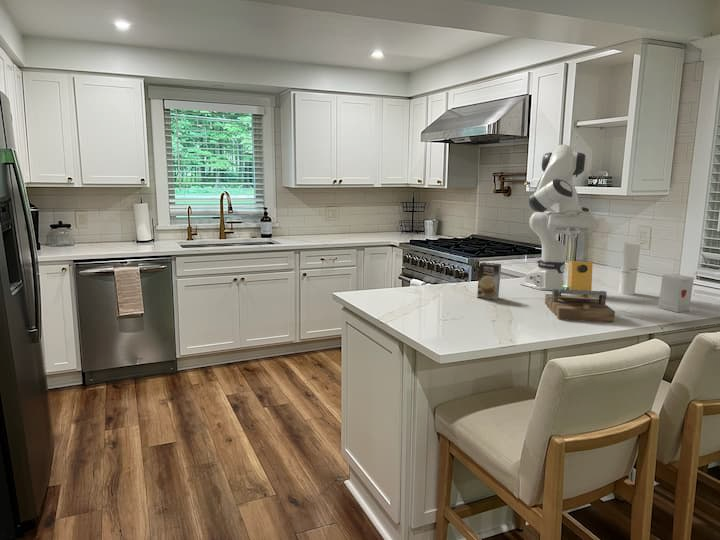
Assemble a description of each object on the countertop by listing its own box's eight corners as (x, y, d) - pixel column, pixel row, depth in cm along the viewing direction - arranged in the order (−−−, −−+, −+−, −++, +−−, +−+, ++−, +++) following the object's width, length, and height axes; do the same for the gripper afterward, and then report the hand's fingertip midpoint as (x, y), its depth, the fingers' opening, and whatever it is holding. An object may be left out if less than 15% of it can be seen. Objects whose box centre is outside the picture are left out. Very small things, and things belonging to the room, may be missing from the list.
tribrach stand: (544, 303, 238) (546, 283, 236) (593, 306, 235) (596, 285, 234) (558, 319, 213) (560, 296, 211) (613, 322, 210) (616, 298, 208)
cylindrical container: (636, 295, 261) (642, 244, 257) (620, 294, 262) (626, 244, 258) (632, 292, 268) (638, 242, 264) (616, 291, 269) (622, 242, 265)
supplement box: (677, 312, 228) (681, 278, 226) (657, 307, 236) (661, 274, 234) (689, 310, 233) (694, 277, 230) (670, 306, 240) (674, 273, 238)
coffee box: (476, 297, 246) (478, 263, 244) (479, 295, 252) (481, 261, 249) (496, 300, 243) (498, 265, 240) (499, 297, 248) (501, 263, 245)
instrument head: (553, 292, 233) (555, 262, 233) (592, 294, 231) (593, 263, 231) (564, 293, 215) (566, 259, 215) (606, 295, 213) (607, 261, 213)
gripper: (547, 207, 241) (550, 231, 233) (594, 209, 238) (599, 233, 230) (544, 216, 246) (547, 240, 238) (590, 218, 243) (595, 242, 236)
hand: (573, 236), depth 234 cm, fingers closed
